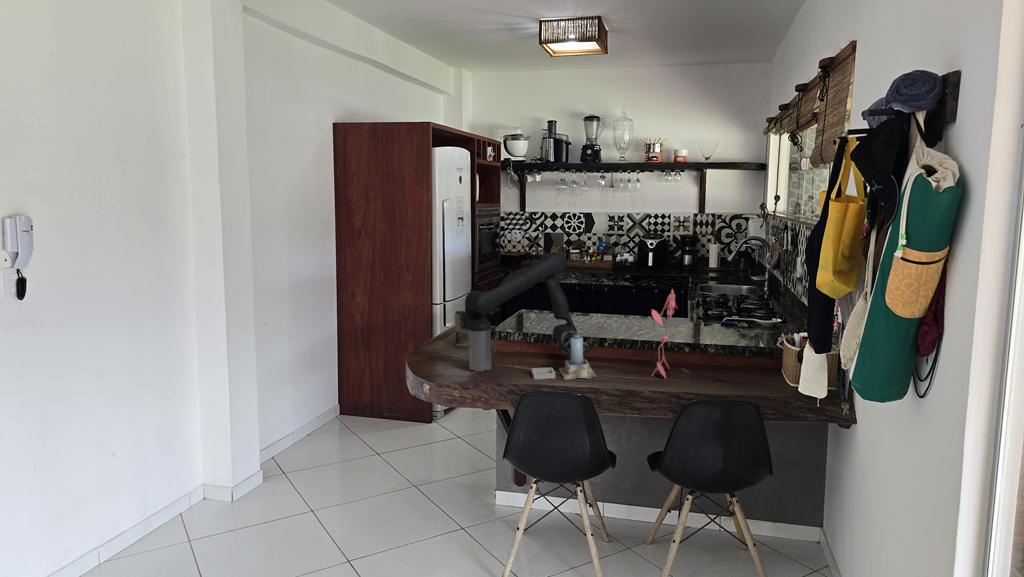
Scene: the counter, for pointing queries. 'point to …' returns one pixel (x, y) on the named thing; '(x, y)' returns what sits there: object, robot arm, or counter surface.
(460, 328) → the coffee box
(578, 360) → the light blue bottle
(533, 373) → the white square tray
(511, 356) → the counter surface
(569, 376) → the port
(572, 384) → the counter surface
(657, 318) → the pink branching plant
